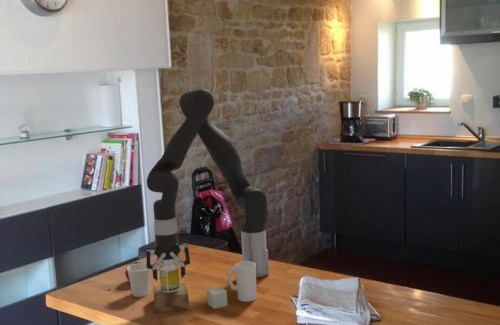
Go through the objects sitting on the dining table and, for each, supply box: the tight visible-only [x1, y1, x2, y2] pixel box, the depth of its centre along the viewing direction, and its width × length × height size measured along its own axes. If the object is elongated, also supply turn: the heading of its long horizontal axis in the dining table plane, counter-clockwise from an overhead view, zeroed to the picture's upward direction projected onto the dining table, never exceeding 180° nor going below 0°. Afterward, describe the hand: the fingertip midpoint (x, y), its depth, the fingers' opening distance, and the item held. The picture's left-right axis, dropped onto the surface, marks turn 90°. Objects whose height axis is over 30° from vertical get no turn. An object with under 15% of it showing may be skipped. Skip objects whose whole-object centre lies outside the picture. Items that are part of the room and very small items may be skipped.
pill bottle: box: [158, 259, 180, 293], centre depth 188 cm, size 6×6×11 cm
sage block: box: [206, 286, 228, 310], centre depth 187 cm, size 5×5×5 cm
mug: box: [227, 260, 257, 303], centre depth 191 cm, size 10×7×12 cm, turn 71°
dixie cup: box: [126, 262, 151, 298], centre depth 200 cm, size 8×8×10 cm
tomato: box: [124, 261, 143, 282], centre depth 212 cm, size 9×9×8 cm
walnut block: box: [152, 282, 190, 314], centre depth 189 cm, size 11×11×5 cm
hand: (169, 278), depth 188 cm, fingers open, 8 cm apart
